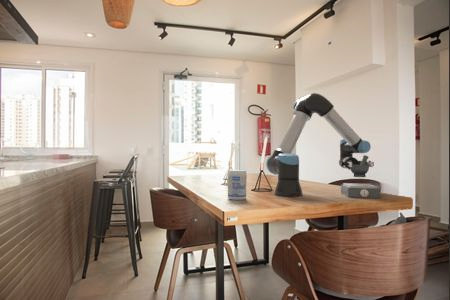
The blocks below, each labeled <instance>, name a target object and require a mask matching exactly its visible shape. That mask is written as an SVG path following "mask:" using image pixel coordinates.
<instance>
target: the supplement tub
mask: <svg viewBox="0 0 450 300" xmlns="http://www.w3.org/2000/svg"><path fill="white" fill-rule="evenodd" d="M227 175H228V176H227V198H228V199H229V200H232V201H242V200H246V199H247V170H244V169H243V170H242V169H229V170H228V173H227Z"/></svg>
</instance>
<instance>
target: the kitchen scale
mask: <svg viewBox="0 0 450 300" xmlns="http://www.w3.org/2000/svg"><path fill="white" fill-rule="evenodd" d="M340 194H341V195H343V196H345V197H346V198H354V199H355V198H360V199H361V198H363V199H364V198H366V199H381V188H380V187H378V186H377V185H374V184H371V183H354V182H353V183H350V182H349V183H348V182H346V183H345V182H344V183H342V184H340Z"/></svg>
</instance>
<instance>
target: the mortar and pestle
mask: <svg viewBox="0 0 450 300" xmlns="http://www.w3.org/2000/svg"><path fill="white" fill-rule="evenodd" d="M368 159H369V156H367V154H365V155H363V156H362V159H361V160H360V161H361V163H360V164H352V167H350V171H351V173H352V174H353V178H366V177H367V176H366V174H367V173H368V172H369V169H370V167H369V165H368V164H366V162H368Z"/></svg>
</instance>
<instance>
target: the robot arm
mask: <svg viewBox="0 0 450 300" xmlns="http://www.w3.org/2000/svg"><path fill="white" fill-rule="evenodd" d="M292 108H293V111H292V115H293V117H292V119H291V120H290V123H289V126H288V127H287V129H286V131H285V133H284V135H283V137H282V139H281V142H280V143H279V145H278V148H277V149H274V151H273V152H272V154H271V155H270V156H269V157H268V158H267V159H266V164H265V167H266V169H267V170H268V172H269V173H271V174H273V175H276V176H277V182H276V183H277V184H276V187H275V189H274V195H275V196H280V197H301V196H303V190H302V186H301V184H300V157H299V155H297V154H295V153H293V150H294V149H295V147H296V145H297V142H298V140H299V138H300V137H301V134H302V132H303V129H304V127H305V125H306V124H307V122H308V121H310V120H311V119H312V116H313V114H317V115H318V116H319V117H321V118H324V119H325V121H326V122H327V123H328V124H329V125H330V126H331V127H332V128H333V130H335V131H336V132H337V134H339V136H341V139H340V141H339V152H340V153H339V154H340V156H339V160H338V165H339V166H340V167H341V168H343V169H345V170H346V169H347V170H349V171H351V169H350V167H352V164H360V163H361V161H362V160H358V159H357V158H356V157H353V154H367V153H369V151H370V150H371V148H372V147H371V142H369V141H368V140H363V139H362V138H361V137H360V136H359V135H358V134H357V133H356V132H355V131H354V129H353V128H352V127H351V126H350V125H349V123H347V121H346V120H344V118H343V117H342V116H341V115H340V114H339V112H337V110H336V109H335V105H334V104H333V103H332V102H331V101H330V100H329V99H328V98H326V97H325V96H324V95H322V94H319V93H315V92H313V93H310V94H307V95H305V96H301V97H299V98H298V99H296V101H294V104H293V107H292ZM374 163H375V162H374V161H371V160H368V161H367V162H366V164H368V165H369V168H374Z"/></svg>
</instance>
